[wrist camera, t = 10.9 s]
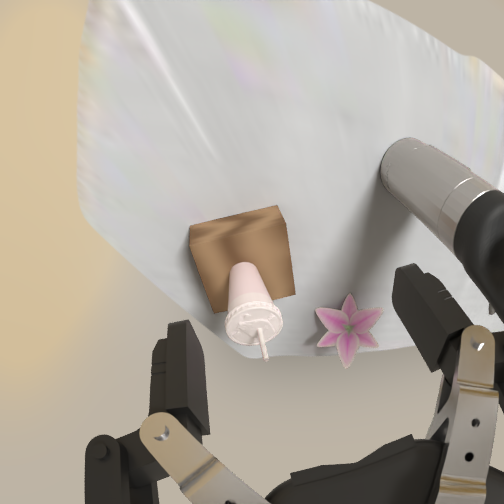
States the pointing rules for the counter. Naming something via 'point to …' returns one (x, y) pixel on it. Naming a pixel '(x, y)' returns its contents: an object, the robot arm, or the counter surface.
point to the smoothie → (251, 309)
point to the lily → (348, 328)
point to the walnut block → (243, 253)
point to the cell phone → (491, 310)
